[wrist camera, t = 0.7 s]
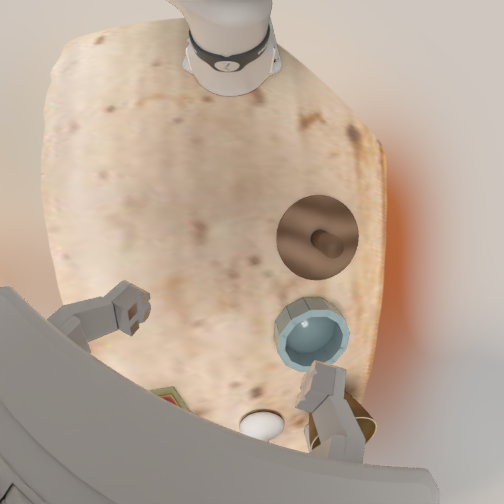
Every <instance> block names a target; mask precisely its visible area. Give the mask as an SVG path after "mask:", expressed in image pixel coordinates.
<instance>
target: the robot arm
mask: <svg viewBox="0 0 504 504" xmlns="http://www.w3.org/2000/svg"><path fill="white" fill-rule="evenodd" d="M167 1H168V2H170V3H171V4H172V5H174V6H175V7H176V8H177V9H179V10H180V11H181V12H182V14H183V15H184V17H185V19H186V21H187V24H188V26H189V37H188V40H187V43H189V45H188V47H186V55H185V58H184V60H183V63H182V66H183V69H184V70H186V71H187V72H189V73H191V74H193V75H194V76H195V77H196V79H197V80H198V82H199V83H200V84H201V85H202V86H203V87H204V88H205V89H207V90H208V91H210V92H212V93H215V94H218V95H222V96H238V95H243V94H246V93H249V92H251V91H253V90H255V89H256V88H257V87H259V86H260V85H261V84H262V83H263V82H264V81H265V80H266V79H267V78H268V77H269V76H271V75H273V74H276V73H277V72H279V71H280V70H281V67H282V65H281V60H280V56H279V51H278V47H277V43H276V39H275V35H274V30H273V26H272V23H271V19H270V13H271V9H272V0H167ZM274 60H275V61H276V62H274ZM149 299H150V293H148V292H146V291H145V290H143V289H141V288H139V287H137V286H135V285H133V284H131V283H130V282H128V281H126V280H123V281H121V282H120V283H119V284H118V285H117V286H116V287H114V288H113V289H112V290H111V291H110V292H109V293H108V294H107V295H105V296H104V297H97V298H93V299H89V300H84V301H80V302H76V303H72V304H68V305H64V306H62V307H61V308H59V309H58V310H57V311H56V312H55V313H54V314H53V315H52V316H50V317H49V318H48V319H45V318H44V317H43V316H42V315H41V314H40V313H39V312H38V311H37V310H35V309H34V308H33V307H32V306H31V305H30V304H29V303H28V302H27V301H26V300H25V299H24V298H22V296H21V295H20V294H19V293H18V292H17V291H16V290H15V289H14V288H12V287H9V286H8V287H0V504H439V501H440V491H439V488H438V486H437V484H436V482H435V480H434V479H433V477H432V475H431V474H430V472H429V471H428V470H427V469H425V468H408V467H391V466H380V465H371V464H363V456H364V449H365V440H366V439H365V437H364V435H363V433H362V431H361V429H360V427H359V425H358V423H357V421H356V419H355V417H354V415H353V412H352V410H351V408H350V406H349V404H348V402H347V400H345V399H344V390H345V381H346V369H343V368H340V367H336V366H334V365H330V364H327V363H324V362H320V361H317V360H315V361H313V363H312V364H311V369H309V370H307V372H306V374H305V376H304V378H303V380H302V383H301V387H300V388H301V393H300V394H299V395H298V398H297V402H296V406H295V408H298V409H301V410H305V411H308V412H311V413H312V416H313V419H314V423H315V426H316V429H317V432H318V436H319V439H320V442H321V444H320V445H319V446H317V447H316V448H314V449H313V450H311V451H310V452H309V453H304V452H300V451H296V450H293V449H289V448H285V447H282V446H278V445H275V444H272V443H268V442H265V441H262V440H259V439H256V438H253V437H250V436H247V435H245V434H242V433H239V432H236V431H234V430H231V429H229V428H226V427H223V426H221V425H218V424H216V423H214V422H211V421H209V420H207V419H204V418H202V417H200V416H198V415H195V414H193V413H191V412H189V411H187V410H185V409H183V408H181V407H178V406H176V405H174V404H172V403H170V402H169V401H167V400H165V399H163V398H161V397H159V396H157V395H155V394H153V393H152V392H150V391H148V390H146V389H144V388H143V387H141V386H139V385H138V384H136V383H134V382H132V381H131V380H129V379H128V378H126V377H124V376H123V375H121V374H119V373H118V372H116V371H115V370H113V369H112V368H110V367H109V366H107V365H106V364H104V363H103V362H101V361H100V360H98V359H97V358H95V357H94V356H93V355H91V354H90V353H91V349H90V346H89V344H88V342H90V341H92V340H95V339H97V338H99V337H102V336H104V335H107V334H109V333H112V332H114V331H117V330H118V329H119V330H121V331H123V332H124V333H126V334H128V335H130V336H132V335H133V334H134V333H135V332H136V331H137V330H138V328H139V323H143V322H145V320H146V319H147V318H148V316H149V314H150V310H151V305H150V303H149V302H148V300H149Z"/></svg>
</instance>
